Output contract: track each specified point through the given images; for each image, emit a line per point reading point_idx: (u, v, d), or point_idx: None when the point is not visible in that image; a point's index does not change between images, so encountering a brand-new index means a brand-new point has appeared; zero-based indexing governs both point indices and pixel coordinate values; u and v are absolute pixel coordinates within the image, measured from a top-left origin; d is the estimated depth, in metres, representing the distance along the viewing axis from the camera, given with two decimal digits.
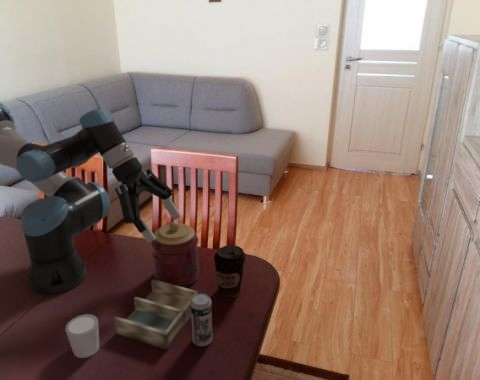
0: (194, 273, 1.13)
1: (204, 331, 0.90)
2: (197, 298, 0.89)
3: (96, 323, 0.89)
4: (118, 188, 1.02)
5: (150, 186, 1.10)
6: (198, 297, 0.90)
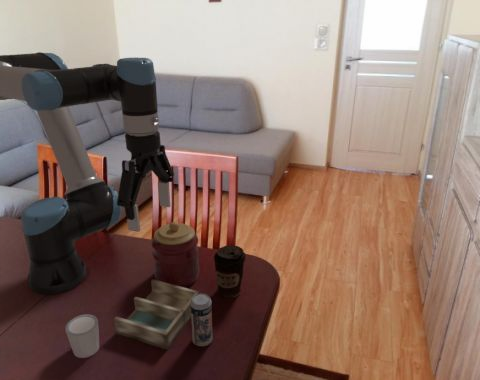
0: (194, 273, 1.13)
1: (204, 331, 0.90)
2: (197, 298, 0.89)
3: (96, 323, 0.89)
4: (126, 163, 0.85)
5: (157, 167, 0.94)
6: (198, 297, 0.90)
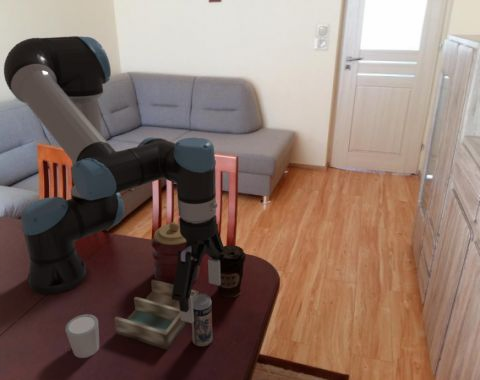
0: None
1: (204, 331, 0.90)
2: (197, 298, 0.89)
3: (96, 323, 0.89)
4: (183, 254, 0.77)
5: (210, 248, 0.86)
6: (198, 297, 0.90)
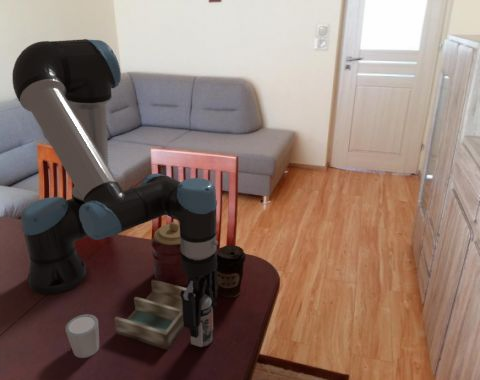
0: None
1: (204, 331, 0.90)
2: None
3: (96, 323, 0.89)
4: (185, 296, 0.81)
5: (208, 285, 0.89)
6: None
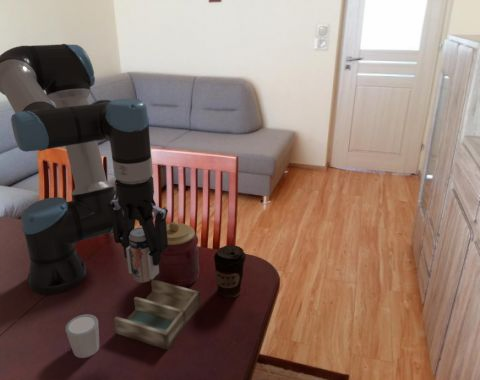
0: (194, 273, 1.13)
1: None
2: (142, 231, 0.87)
3: (96, 323, 0.89)
4: None
5: None
6: None
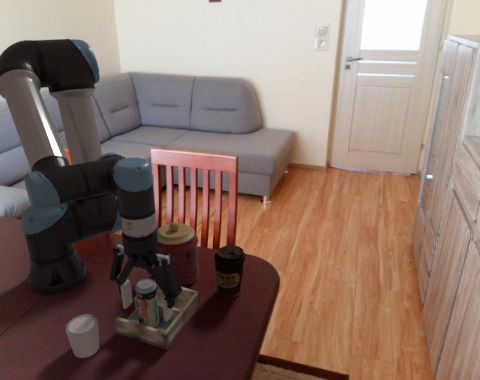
0: (194, 273, 1.13)
1: None
2: (147, 282, 0.93)
3: (96, 323, 0.89)
4: None
5: None
6: (149, 282, 0.93)
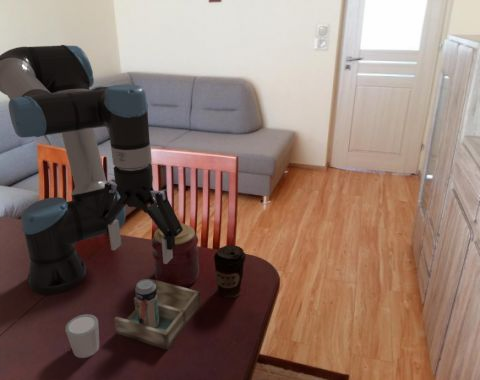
0: (194, 273, 1.13)
1: (137, 311, 0.94)
2: (147, 283, 0.93)
3: (96, 323, 0.89)
4: None
5: None
6: (148, 282, 0.92)
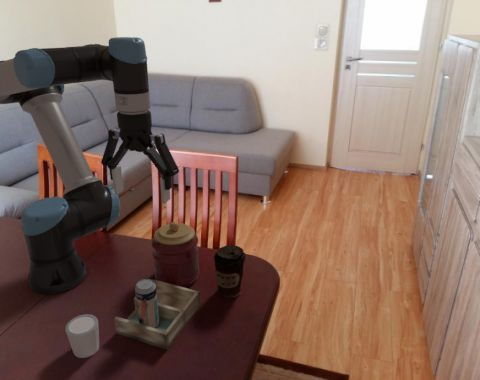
0: (194, 273, 1.13)
1: (137, 311, 0.94)
2: (147, 282, 0.93)
3: (96, 323, 0.89)
4: None
5: None
6: (148, 282, 0.92)
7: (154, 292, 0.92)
